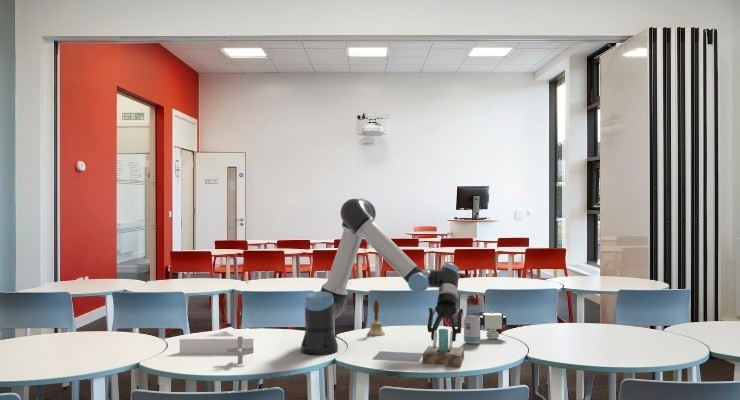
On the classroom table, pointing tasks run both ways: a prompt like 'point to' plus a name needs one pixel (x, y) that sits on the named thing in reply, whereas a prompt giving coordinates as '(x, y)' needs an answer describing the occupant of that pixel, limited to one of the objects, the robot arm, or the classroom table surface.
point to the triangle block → (214, 341)
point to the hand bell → (376, 323)
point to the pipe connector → (240, 349)
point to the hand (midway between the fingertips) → (442, 347)
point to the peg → (443, 340)
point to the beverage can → (472, 329)
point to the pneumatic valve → (492, 323)
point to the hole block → (444, 356)
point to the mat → (398, 356)
